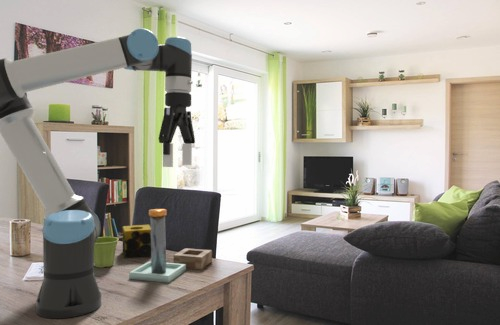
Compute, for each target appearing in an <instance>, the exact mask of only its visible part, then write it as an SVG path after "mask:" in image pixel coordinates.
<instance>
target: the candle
mask: <svg viewBox="0 0 500 325" xmlns="http://www.w3.org/2000/svg"><path fill="white" fill-rule="evenodd" d="M122 253H123V256H124V258H125V259H129V257H131V258H140V256H143V257H151V225H150V224H135V225H124V226H122Z"/></svg>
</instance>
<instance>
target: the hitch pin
mask: <svg viewBox="0 0 500 325" xmlns="http://www.w3.org/2000/svg"><path fill="white" fill-rule="evenodd" d="M167 211H168V210H167V209H165V208H154V209H152V208H151V209H149V210H148V216H149V217H150V219H149V221H150V227H151V256H150V261H151V272H152V273H154V274H162V273H165V272H166V263H167V251H166V250H167V248H166V246H167V245H166V244H167V243H166V216H167Z"/></svg>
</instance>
